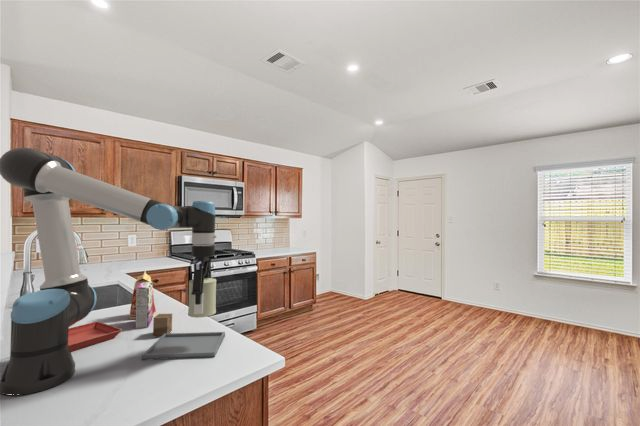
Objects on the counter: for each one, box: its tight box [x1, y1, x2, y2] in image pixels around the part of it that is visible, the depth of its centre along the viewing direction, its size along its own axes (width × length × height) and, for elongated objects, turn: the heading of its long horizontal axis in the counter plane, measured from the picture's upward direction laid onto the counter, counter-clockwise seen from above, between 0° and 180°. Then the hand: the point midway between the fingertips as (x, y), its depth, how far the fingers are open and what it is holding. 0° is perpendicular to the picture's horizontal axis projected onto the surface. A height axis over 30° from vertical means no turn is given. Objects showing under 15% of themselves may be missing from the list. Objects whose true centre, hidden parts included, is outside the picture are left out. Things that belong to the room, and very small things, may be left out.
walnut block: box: [152, 313, 173, 337], centre depth 117 cm, size 5×5×7 cm
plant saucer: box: [68, 321, 123, 353], centre depth 110 cm, size 18×18×3 cm
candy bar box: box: [134, 281, 154, 329], centre depth 128 cm, size 11×5×16 cm, turn 22°
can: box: [187, 277, 217, 318], centre depth 107 cm, size 9×9×12 cm
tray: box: [141, 331, 226, 361], centre depth 106 cm, size 18×22×2 cm
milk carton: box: [128, 270, 157, 320], centre depth 138 cm, size 9×9×20 cm
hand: (202, 309), depth 107 cm, fingers closed on can, 9 cm apart
